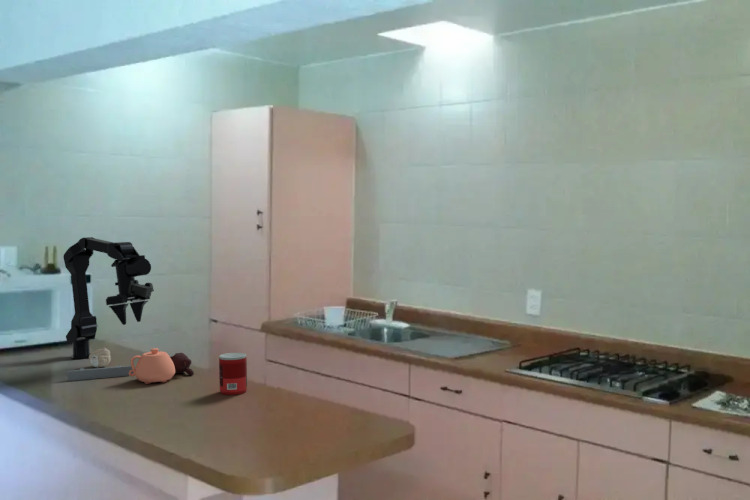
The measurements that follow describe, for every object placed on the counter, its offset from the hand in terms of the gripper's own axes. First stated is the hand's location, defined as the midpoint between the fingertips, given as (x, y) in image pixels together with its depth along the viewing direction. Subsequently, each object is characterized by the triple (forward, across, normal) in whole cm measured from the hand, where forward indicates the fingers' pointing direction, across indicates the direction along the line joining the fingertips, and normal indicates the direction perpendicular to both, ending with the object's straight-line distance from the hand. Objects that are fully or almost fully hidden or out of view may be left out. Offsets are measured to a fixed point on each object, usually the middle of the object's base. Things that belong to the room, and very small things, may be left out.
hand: (131, 323), depth 251 cm
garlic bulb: (+14, -3, +12) cm, 19 cm away
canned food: (+23, -26, -46) cm, 58 cm away
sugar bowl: (+18, -18, -15) cm, 30 cm away
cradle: (+15, -15, +4) cm, 22 cm away
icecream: (+18, -6, -18) cm, 27 cm away
